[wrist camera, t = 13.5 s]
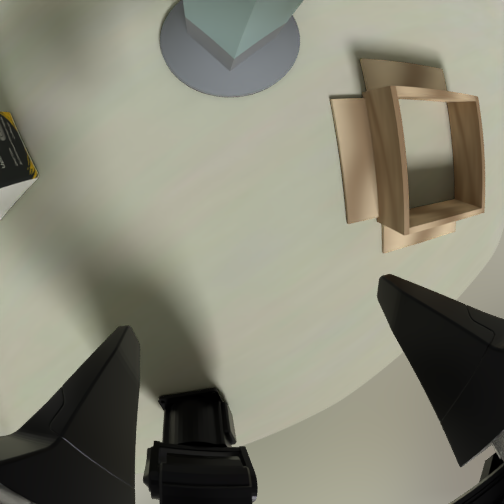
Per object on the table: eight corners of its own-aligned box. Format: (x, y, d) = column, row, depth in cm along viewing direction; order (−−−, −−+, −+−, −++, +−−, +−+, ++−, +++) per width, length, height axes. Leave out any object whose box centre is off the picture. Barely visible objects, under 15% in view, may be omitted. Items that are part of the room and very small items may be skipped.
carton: (349, 261, 24) (372, 281, 20) (321, 58, 18) (344, 43, 14) (471, 224, 25) (496, 235, 21) (460, 73, 19) (487, 71, 15)
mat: (172, 110, 18) (171, 109, 17) (154, 0, 14) (153, -3, 13) (309, 88, 18) (312, 87, 18) (282, -16, 15) (284, -20, 14)
